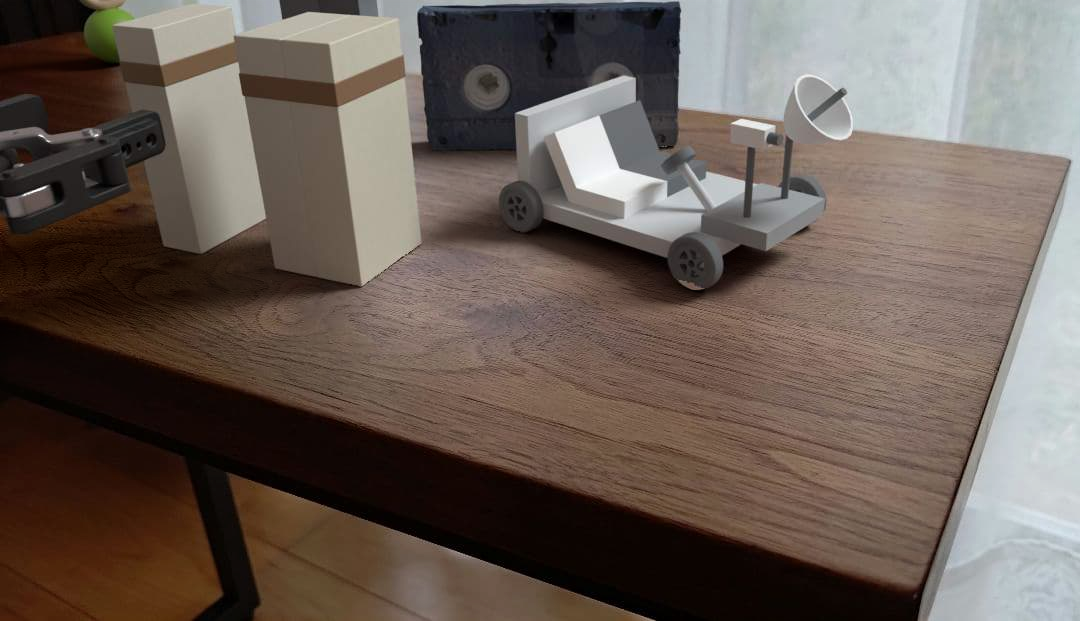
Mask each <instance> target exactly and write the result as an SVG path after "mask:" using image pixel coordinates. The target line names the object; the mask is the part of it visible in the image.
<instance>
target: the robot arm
mask: <svg viewBox="0 0 1080 621" xmlns="http://www.w3.org/2000/svg"><path fill="white" fill-rule="evenodd" d="M49 131H50V122H49V119H48V115H47V111H46V107H45V104H44V100H43V99H42V97H40V95H37V94H31V93H23V94H20V95H16V96H13V97H10V98H7V99H3V100H1V101H0V216H2V215H4V217H5V220H6V223H7V227H8V230H9V232H10V234H13V235H27V234H32V233H33V232H36V231H39V230H41V229H43V228H46V227H48V226H51V225H52V224H53V225H54V224H55V223H58V222H60V221H62V220H65V219H67V218H70V217H72V216H75V215H77V214H79V213H82V212H84V211H87V210H89V209H92V208H95V207H96V206H97V207H98V206H99V205H101V204H104V203H106V202H109V201H111V200H114V199H117V198H119V197H121V196H124V195H126V194H128V193H130V192H131V191H132V188H131V184H130V179H129V175H128V171H127V169H128V168H130V167H132V166H134V165H137V164H140V163H142V162H144V160H147V159H149V158H152V157H154V156H156V155H159V154H161V153H162V152H163V151H164V149H165V146H166V143H165V138H164V133H163V129H162V124H161V120H160V116H159V114H158V113H157V112H155V111H149V110H139V111H136V112H134V113H132V112H131V113H128V114H125V115H123V116H120V117H117V118H115V119H112V120H109V121H107V122H104V123H101V124H97V125H95V126H92V127H87V128H82V129H80V130H75V131H69V132H63V133H62V132H61V133H57V134H56V133H55V134H49ZM16 149H24V150H26V151H28V152H29V153H30V155H31V158H32V160H33V161H31V162H27V163H22V162H21V161H20V158H19V155H18V152H17V150H16Z"/></svg>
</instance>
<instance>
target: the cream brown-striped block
mask: <svg viewBox="0 0 1080 621" xmlns="http://www.w3.org/2000/svg"><path fill="white" fill-rule="evenodd" d="M234 42H235V48H236V53H237V59H238V64H239V70H240V73H239V79H240V85H241V90H242V95H243V96H244V98H245V103H246V109H247V115H248V120H249V126H250V131H251V137H252V142H253V148H254V154H255V159H256V165H257V170H258V176H259V182H260V187H261V193H262V198H263V204H264V209H265V215H266V219H265V220H266V226H267V231H268V236H269V243H270V249H271V253H272V259H273V265H274V268H275V269H276V270H281V271H285V272H290V273H294V274H299V275H305V276H308V277H309V276H310V277H312V278H313V277H314V278H318V279H323V280H329V281H332V282H337V283H343V284H346V285H351V284H352V285H351V286H356V285H357V287H363V286H365V285H366V284H368V283H369V282H370V281H372V280H373V279H375V278H376V277H377V275H378V274H379V275H380V274H382V273H383V272H385V271H386V270H387V269H389V268H390V267H391V266H390V265H392V264H393V263H394V262H396V261H397V260H398V259H400V258H401V257H402V256H404V257H406V256H405V254H407V255H409V254H410V253H411V252H410V251H412V250H413V249H414V248H415V247H417V246H418V245H419V244H421V245H422V235H421V234H422V233H421V227H420V226H421V225H420V216H419V215H420V214H419V205H418V195H417V185H416V177H415V175H416V174H415V166H414V158H413V148H412V146H413V145H412V137H411V136H412V135H411V128H410V126H411V125H410V117H409V108H408V98H407V88H406V87H407V86H406V76H407V75H406V64H405V56H404V54H403V47H402V38H401V27H400V19H399V18H397V17H387V16H386V17H383V16H378V17H372V16H358V15H352V16H351V15H344V14H330V13H316V12H306V13H303V14H300V15H297V16H294V17H291V18H287V19H284V20H282V19H280V20H278V21H274V22H272V23H269V24H266V25H262V26H259V27H255V28H253V29H250V30H247V31H244V32H240V33H236V35H234ZM417 248H418V247H417ZM414 250H415V249H414ZM414 250H413V251H414ZM413 251H412V252H413ZM409 252H410V253H409ZM408 253H409V254H408ZM400 260H401V259H400ZM397 262H398V261H397ZM397 262H396V263H397ZM393 265H394V264H393ZM393 265H392V266H393ZM389 266H390V267H389ZM388 267H389V268H388ZM385 269H386V270H385ZM384 270H385V271H384ZM381 272H382V273H381ZM379 275H378V276H379ZM375 276H376V277H375ZM374 277H375V278H374ZM368 281H369V282H368ZM367 282H368V283H367Z"/></svg>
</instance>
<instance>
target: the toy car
mask: <svg viewBox="0 0 1080 621" xmlns="http://www.w3.org/2000/svg"><path fill="white" fill-rule="evenodd" d="M847 94H848V90H847V89H846V88H845V87H841V88H840V89H838V90H837V89H836V88H835V87H834V86H833V85H832V84H831V83H830V82H828V81H826V80H825V79H824V78H822V77H819V76H817V75H815V74H808V73H807V74H802V75H801V76H799V77H798V78H797V80H796V81H795V83H794V85H793V87H792V90H791V92H790V94H789V97H788V99H787V102H786V105H785V108H784V112H783V125H782V126H783V130H784V133H785V144H784V154H783V167H782V177H781V178H782V180H781V182H780V183H779V184H778V186H775V185H771V184H768V183H764V182H760V183H755V182H754V177H755V176H754V174H755V161H756V150H762V151H764V150H767V149H768V148H771V147H773V146H776V147H781V146H782V144H783V142H784V135H783V134H782V133H778V132H776V127H777V126H776V125H775V124H769V123H765V122H760V121H755V120H750V119H744V118H740V119H737V120H735V121H733V122H731V123H730V129H729V130H730V131H729V143H731V144H735V145H740V146H744V147H747V149H746V152H747V153H746V166H745V180H743V179H738V178H734V177H730V176H726V175H722V174H719V173H714V172H710V171H707V163H708V162H706V161H701V160H697V159H694V158H695V157H696V156H697V153H696V152H695V151H694V149H693V148H692V146H691V145H686V146H684V147H682V148H681V149H679V150H677V151H676V152H674V153H670V152H665V151H660V148H658V146H657V143H656V141H655V138H654V135H653V133H652V130H651V127H650V125H649V122H648V119H647V117H646V114H645V112H644V109H643V106H642V104H641V101H640V100H639V101H636V78H633V77H628V76H621V77H618V78H615V79H612V80H609V81H606V82H603V83H600V84H598V85H595V86H592V87H589V88H586V89H583V90H580V91H577V92H575V93H572V94H569V95H566V96H563V97H560V98H557V99H554V100H551V101H549V102H546V103H543V104H540V105H537V106H534V107H531V108H528V109H526V110H523V111H520V112H517V113H515V127H516V148H517V149H516V166H517V167H516V168H517V180H515V181H513V182H510V183H508V184H506V185H504V186H503V187H502V189H501V190H500V193H499V196H498V208H499V211H500V214H501V217H502V218H503V220H504V222H505V223H506V224H507V226H509V227H510V229H512V230H514V231H515V232H518V231H520V232H519V233H528V232H530V231H532V230H534V229H536V228H538V227H539V226H540V224H541V223H542V221H543V219H544V220H547V221H550V222H554V223H557V224H560V225H562V226H566V227H569V228H573V229H574V230H575V229H576V230H579V231H582V232H585V233H588V234H592V235H595V236H597V237H601V238H604V239H607V240H610V241H612V242H617V243H620V244H622V245H625V246H629V247H632V248H635V249H638V250H641V251H645V252H647V253H650V254H654V255H656V256H660V257H663V258H666V259H667V263H668V268H669V270H670V273H671V275H672V277H673V278H674V279H675V280H676V279H678V280H682V281H687V283H690V282H691V283H694V285H695V286H698V287H699V286H700V287H701V288H707V289H709V288H710V287H712V286H714V285H715V284H716V283H717V282H718V281H719V280H720V279H721V277H722V275H723V271H724V259H723V256H724V255H726V254H728V253H729V252H731V251H732V250H734V249H736V248H738V247H739V246H741V245H743V246H746V247H750V248H754V249H756V250H760V251H763V252H767V251H769V250H770V249H772V248H774V247H775V246H777V245H778V244H780V243H781V242H783V241H785V240H786V239H788V238H789V237H791V236H793V235H794V234H796V233H797V232H799V231H800V230H801V231H802V229H804V228H806V227H807V226H810V225H812V224H813V223H814V222H816V221H818V220H819V219H820V218H822V217H823V216H824V213H825V212H826V208H827V195H826V192H825V189H824V187H823V186H822V185H821V183H820V182H819V181H818V180H817V179H816V178H814V177H813V176H810V175H808V174H806V173H805V174H804V173H796V174H793V175H791V172H792V160H793V148H794V142H795V143H798V144H801V145H823V144H828V143H829V144H830V143H834V142H839V141H842V140H847V139H848V138H849V137H851V135H852V133H853V130H854V119H853V115H852V112H851V110H850V108H849V105H848V103H847V102H846V100H845V99H844V97H845V96H846V95H847ZM811 223H812V224H811ZM809 224H810V225H809Z"/></svg>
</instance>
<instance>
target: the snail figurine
mask: <svg viewBox="0 0 1080 621" xmlns="http://www.w3.org/2000/svg"><path fill="white" fill-rule="evenodd" d="M78 1H79V2H80V3H81V4H82V5H83V6H85V7H87V8H90V9H93V10H95V11H94V12H92V14H90V15H89V17H88V18H87V19H86V22H85V24H84V28H83V36H84V41H85V44H86V46H87V48H88V49H89V50H90V52H91V53H92V54H93V55H94V56H95V57H97V58H98V59H100V60H101V61H104V62H106V63H109V64H110V63H111V64H120V63H119V61H120V58H119V54H118V50H117V45H116V41H115V37H114V32H113V28H112V25H114V24H118V23H122V22H126V21H129V20H133V19H136V18H135V17H134V16H133V15H132V14H131V13H130V12H128V11H126V10H124V9H123V8H120V7H122V6H123V5H124V4H125V3H126V1H127V0H78Z"/></svg>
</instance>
